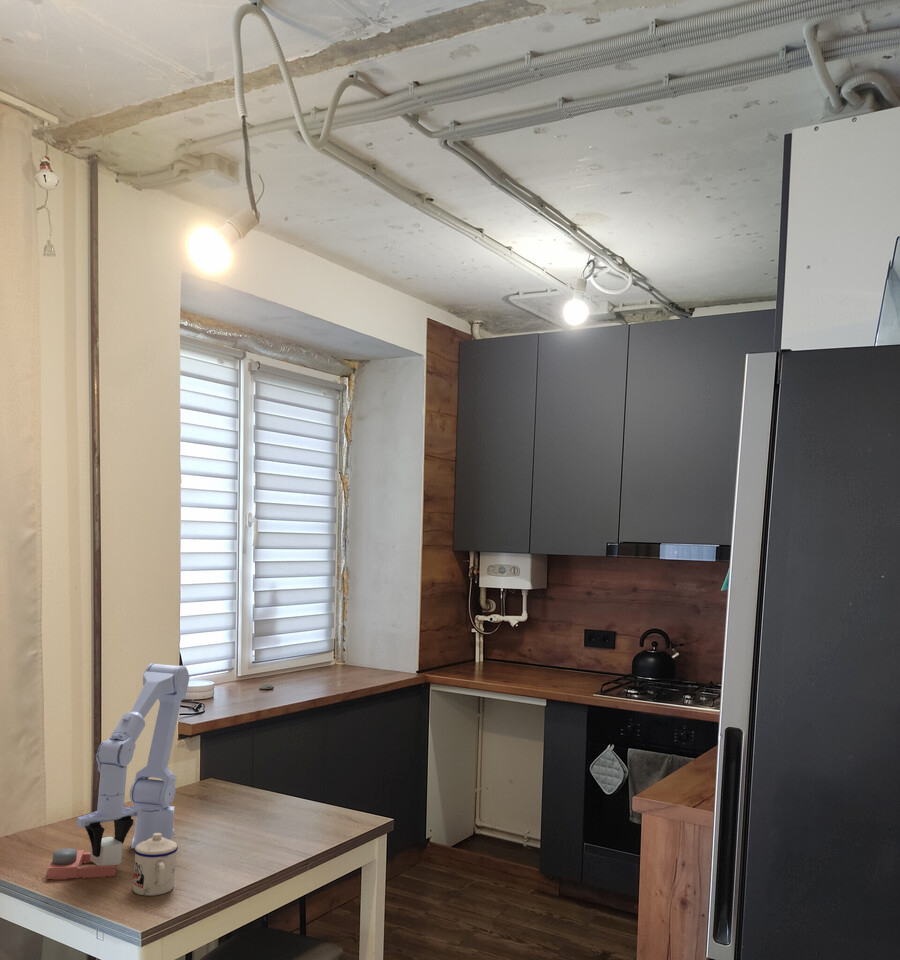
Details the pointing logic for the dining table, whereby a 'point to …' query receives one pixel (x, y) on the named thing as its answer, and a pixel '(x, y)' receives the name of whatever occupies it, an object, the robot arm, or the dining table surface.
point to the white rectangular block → (108, 852)
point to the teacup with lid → (154, 866)
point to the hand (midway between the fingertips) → (106, 853)
